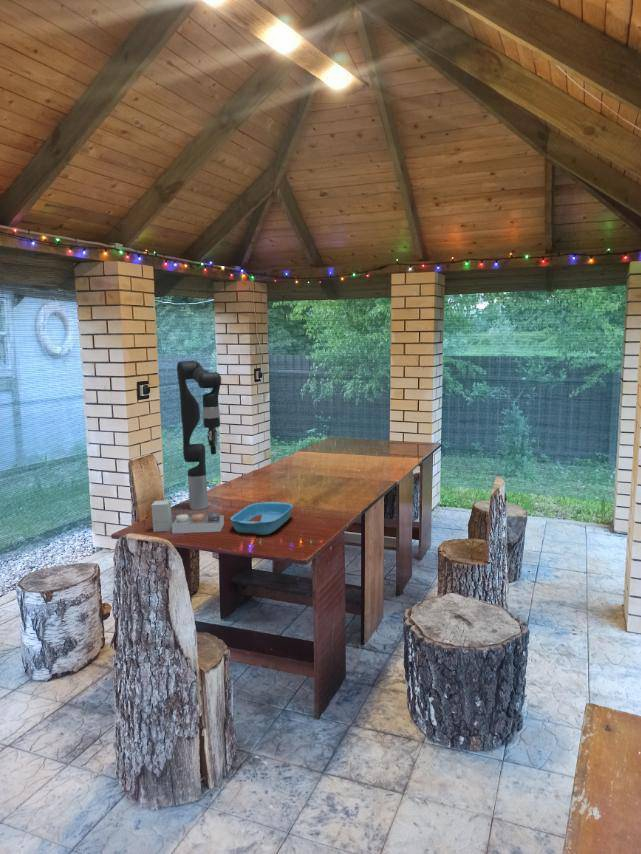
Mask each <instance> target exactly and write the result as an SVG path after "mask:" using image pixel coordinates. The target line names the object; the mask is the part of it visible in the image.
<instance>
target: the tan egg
mask: <svg viewBox="0 0 641 854" xmlns="http://www.w3.org/2000/svg"><path fill="white" fill-rule="evenodd" d="M191 516H192V520H193V521H201V520H204V516H205V514H204V513H201V512H200V513H194V514H192V515H191Z"/></svg>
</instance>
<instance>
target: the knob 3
mask: <svg viewBox="0 0 641 854" xmlns="http://www.w3.org/2000/svg"><path fill="white" fill-rule="evenodd" d="M220 515H221V514H220V512H211V513H208V514H207V516H208V520H218V519H220Z"/></svg>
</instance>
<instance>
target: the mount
mask: <svg viewBox="0 0 641 854" xmlns="http://www.w3.org/2000/svg"><path fill="white" fill-rule="evenodd" d="M224 525H225V519H224V514H220V519H218V520H208V515H204V520H201V521H193V520H192V515H191V516H190V515H188V520H187V521H184V522H178V521H177V519H176V518H175V520H174V521H172V527H171V534H192V533H193V534H194V533H219V532H221V531H222V529H223V527H224Z"/></svg>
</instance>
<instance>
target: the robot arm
mask: <svg viewBox="0 0 641 854" xmlns="http://www.w3.org/2000/svg"><path fill="white" fill-rule="evenodd" d="M176 372H177V380H178V388H179V389H178V390H179V397H180V401H179V402H180V418H181V426H182V451H183V453H182V454H183V460H184V462H185V463H198V464H197V465H196V466H194V467H191V468H189V469H188V470H187V483H188V484H187V485H188V487H187V488H188V500H189V509H190V510H194V511H199V510H205V509H208V507H209V503H208V500H209V499H208V486H207V485H208V484H207V483H208V482H207V469H206V468H207V467H206V465H207V464H206V446H205V445H204V443H190V441H191V437H192V435H193V432H194V430H196V428H197V426H198V424H199V422H200V420H201V412H200V411H201V410H200V404H199V402H198V400H197V399H196V397H194V395H193V394H192V393H191V391H190V389H189V388H188V385H187V381H188V380H194V381H195V382H196V384H197V385H198V387H199V388H201V389H211V391H210V392H207V393H204V394H203V395H202V423H203V425H202V426H203V428H205V429H208V431H207V437H206V438H207V442H208V445H209V447H210V448H209V449H210V454H211V455H216V454H217V444H218V441H217V440H218V430H217V429H216V428H219V427H220V426H221V415H220V414H221V413H220V406H219V396H220V395H219V394H220V388H221V385H222V376H221V375H220V373H218V372H215V371H214V372H209V371H208V370H207V369H205V368H204V367H203V366H202V365H201V363H200V362H198V361H197V360H182V361H178V362H177V366H176Z"/></svg>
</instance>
